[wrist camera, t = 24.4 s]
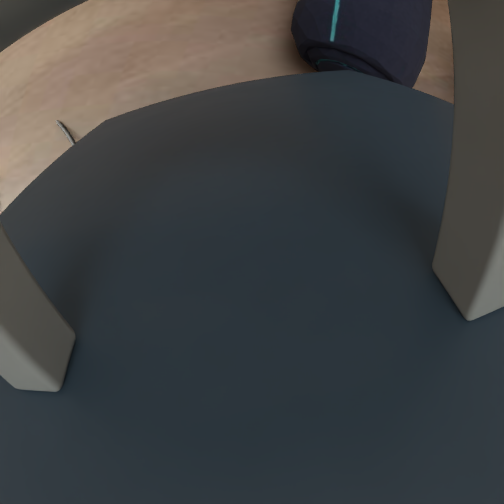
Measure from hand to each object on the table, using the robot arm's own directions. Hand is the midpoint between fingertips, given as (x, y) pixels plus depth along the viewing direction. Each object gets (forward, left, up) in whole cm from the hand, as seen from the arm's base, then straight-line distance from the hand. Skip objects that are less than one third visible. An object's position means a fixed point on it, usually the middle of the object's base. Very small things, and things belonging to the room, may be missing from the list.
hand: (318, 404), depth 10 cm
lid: (+8, +1, 0) cm, 8 cm away
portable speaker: (+24, -13, -18) cm, 32 cm away
